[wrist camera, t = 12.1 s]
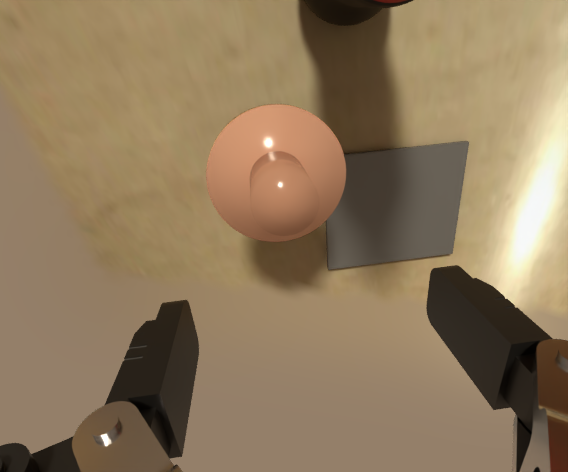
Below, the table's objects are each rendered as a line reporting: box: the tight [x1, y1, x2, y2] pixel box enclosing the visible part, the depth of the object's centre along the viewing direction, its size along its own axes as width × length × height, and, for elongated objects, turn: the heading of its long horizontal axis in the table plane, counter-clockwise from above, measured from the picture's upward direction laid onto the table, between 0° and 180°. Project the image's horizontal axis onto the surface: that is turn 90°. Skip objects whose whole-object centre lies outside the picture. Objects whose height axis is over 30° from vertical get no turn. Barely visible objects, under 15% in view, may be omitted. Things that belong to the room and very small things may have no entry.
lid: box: [206, 104, 346, 242], centre depth 23 cm, size 10×10×6 cm
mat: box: [326, 141, 469, 270], centre depth 41 cm, size 16×14×1 cm
